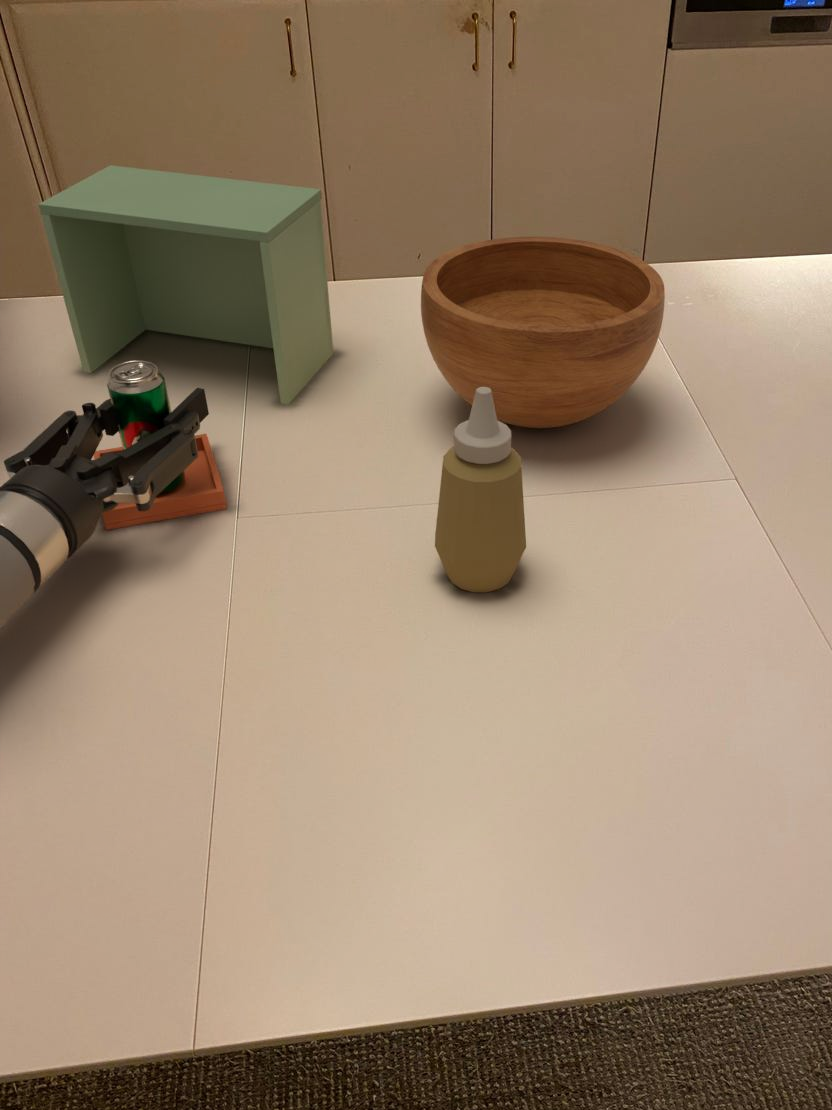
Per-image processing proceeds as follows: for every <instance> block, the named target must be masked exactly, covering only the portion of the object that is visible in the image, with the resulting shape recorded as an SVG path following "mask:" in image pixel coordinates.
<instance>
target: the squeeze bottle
mask: <svg viewBox="0 0 832 1110" xmlns="http://www.w3.org/2000/svg"><path fill="white" fill-rule="evenodd" d="M453 434H454V435H453V446H452V447H450V448H449V449H448V450H447V451H446V452H445V453H444V455H443V456H442V466H441V467H442V468H441V477H440V487H439V495H438V506H437V515H436V525H435V533H434V547H435V550H436V552H437V554H438V557H439V559H440V562H441V564H442V567H443V569H444V571H445V573H446V576H447V577H448V579H449V580H450V583H452V584H453V585H455V586H456V587H458V588H459V589H461V590H464V591H466V592H467V591H468V592H470V593H471V592H472V593H489V592H492V591H493V592H494V591H497V590H500V589H502V588H503V587H505V586H506V585H508V584H509V583H510V581H511V580H512V577H513V575H514V573H515V571H516V569H517V567H518V565H519V563H520V561H521V559H522V557H523V555H524V553H525V551H526V548H527V536H526V535H527V534H526V519H525V503H524V488H523V487H524V485H523V469H522V468H523V467H522V456H521V455H520V454H519V453H518V452H517V450H515V449H514V448H513V447H512V430H511V429H510V428H509V426H508V425H507V423H505V422H502V421H499V420H497V416H496V411H495V406H494V402H493V397H492V392H491V389H490V388H488V387H479V388H477V389H476V393H475V397H474V401H473V405H471V409H470V413H469V416H468V420H467V419H466V420H465V421H463V422H461V423H459V424H458V425H457V426H456V427H455V429H454V431H453Z"/></svg>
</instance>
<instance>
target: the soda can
mask: <svg viewBox="0 0 832 1110" xmlns="http://www.w3.org/2000/svg"><path fill="white" fill-rule="evenodd" d="M106 387H107V391H108V396H109V399H111V403H112V407H113V411H114V415H115V419H116V423H117V427H118V430H119V431H118V434H119V439H120V441H121V445H122V446H121V447H123V450H124V449H126V448H128V447H130V446H131V445H133V444H135V443H137V442H139V441H140V440H142V439H144V438H146V437H148V436H149V435H151V434H153V433H155V432H157V431H158V430H160V429H162V428H164V427H165V425H164V419H165V418H166V417H167V416H168V415H169V414H170V413H171V412H172V408H171V403H170V399H169V394H168V389H167V384H166V380H165V376H164V375H163V374H162V373H161V372H160V371H159V367H158V366H157V365H156V364H155V363H153V362H150V361H148V360H129V361H124V362H121V363H118V364H116V365H114V366H113V367H112V368H110V370H109V371H108V380H107V383H106ZM184 478H185V473H184V471H183V472H182V473H181V474H180V475H178V476H177V477H176V478H175V479H174V480H173V481H172V482H171V483H170V484H169V485H168V486H167V487H166V488H164V489H163V490H162V491H161V492H160V493H159V494H158V495H161V494H166V493H169V492H172V491H174V490H175V489H177V488H178V487H179V486H180V485H181V484H182V482H183V480H184Z"/></svg>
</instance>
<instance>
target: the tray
mask: <svg viewBox="0 0 832 1110" xmlns="http://www.w3.org/2000/svg"><path fill="white" fill-rule="evenodd" d="M194 435H195V440H196V445H197V450H198V455H199V456H198V458H197V459H196V460H195V461H194V462H192V463H191V464H190V465H189V466H188V467H187V468H186V469H185V470H184V473H185V478H184V480H183V482H182V484H181V485H180V486H179V487H178V488H177V489H175V490H174V491H172V492H169V493H166V494H161V495H157V496H156V497H155V499H154V502H153V504H152V507H151V508H150V509H149V510H148V511H143V512H142V511H138V510H137V508H136V504H135V503H119V504H118V505H117V506H116V507H115V508H114V509H112V510H110V511H107V512H106V513H104V514H102V515H101V517H102V519H103V523H104V526H105V530H107V531H109V530H114V529H119V528H125V527H131V526H135V525H141V524H142V525H143V524H148V523H153V522H159V521H165V520H170V519H177V518H182V517H187V516H193V515H198V514H204V513H209V512H215V511H222V510H226V509H228V506H227V501H226V497H225V496H226V495H225V491H224V487H223V484H222V481H221V480H222V479H221V477H220V474H219V469H218V467H217V464H216V461H215V458H214V454H213V451H212V447H211V444H210V440H209V437H208V434H207V433H201V434H194ZM122 450H123V446H119V447H113V448H107V449H99V450H96V451H95V453H94V455H93V460H96V459H98V458H99V457H101V456H103V455H105V454H107V453H108V452H114V453H119V452H121V451H122Z"/></svg>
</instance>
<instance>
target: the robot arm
mask: <svg viewBox="0 0 832 1110" xmlns="http://www.w3.org/2000/svg"><path fill="white" fill-rule="evenodd" d="M81 408H82V412H83V413H82V414H78V415H77V412H76V411H75V410H66V411H64V412H63V413H62V414H61V415H60V416H58V417H57V418H56V419H55V420H53V422H52V423H50V424H49V425H48V427H46V428H45V429H44V430H43V431H42V432H41V433H40V434H39V435H38V436H37V437H35V439H33V440H32V441H31V442H30V443H29V444H28V445H27V446H26V447H24V449H22V450H21V451H19V452H17V453H15V454H13V455H11V456H10V457H8V458H6V459H4V460H3V464H4V467H5V471H6V473H7V476H8V480H7V481H6V482H4V483H3V484H2V485H1V486H0V629H1V628H2V627H3V626H4V625H5V624H6V623H7V622H8V621H9V620H10V618H11V617H12V616H13V615H15V613H16V612H18V611H19V609H20V608H21V607H22V606H24V604H25V603H26V602H27V601H28V600H29V599H30V598H31V597H32V596H33V595H34V594H35V593H36V592H37V591H38V590H39V589H40V588H41V587H42V586H43V585H44V584H45V583H46V582H47V581H48V580H49V579H50V578H51V577H52V576H53V575H54V574H55V573H56V572H57V571H58V570H59V569H60V568H61V566H63V565H64V564H65V562H66V561H67V560H68V559H69V558H71V557H72V556H73V555H74V554H75V553H76V552H77V551H78V550H79V549H80V548H81V547H82V546H83V545H84V544H85V543H86V542H87V541H88V540H89V539H90V538H91V537H92V536H93V534H95V531H96V529H97V526H98V524H99V521H100V519H101V517H102V514H104V513H106V512H107V511H110V510H112V509H114V508H115V507H116V506H117V505H118V504H119V503H135V504H136V508H137V510H138V511H142V512H143V511H148V510H149V509H150V508H151V507H152V504H153V502H154V499H155V497H156V496H157V495H158V494H159V493H160V492H161V491H162V490H163V489H164V488H166V487H167V486H168V485H169V484H170V483H171V482H172V481H173V480H174V479H175V478H176V477H177V476H178V475H180V474H181V473H182V472H183V471H184V470H185V469H186V468H187V467H188V466H189V465H190V464H191V463H192V462H194V461H195V460H196V459H197V458H198V456H199V455H198V450H197V445H196V440H195V435H196V433H197V432H198V431H199V430H200V429H201V422H203V420H205V419H206V417H208V415H209V414H210V411H209V407H208V401H207V395H206V389H205V388H202V387H197V388H195V389H194V390H193V391H192V392H191V393H190V394H189V395H187V396H186V398H185V399H184V400H183V401H181V402H180V403H179V404H178V405H177V406H176V407H175V408H174V409H173V410H171V413H170V414H169V415H168V416H167V417H166V418H165V419H164V425H165V427H164V428H162V429H160V430H158V431H157V432H155V433H153V434H151V435H149V436H148V437H146V438H144V439H142V440H140V441H139V442H137V443H135V444H133V445H131V446H130V447H128V448H126V449H124V450H122V451H121V452H119V453H114V452H108V453H107V454H105V455H103V456H101V457H99V458H98V459H96V460H94V459H93V458H94V453H95V451H97V449H98V447H99V445H100V443H101V441H102V439H103V437H104V432H105V435H106V436H110V437H114V436H115V435H116V434H117V433H119V430H118V427H117V423H116V419H115V415H114V411H113V407H112V403H111V399H110V398H108V399H106V400H104V401H103V402H102V403H101V404H100V405H99V406H96V404H95V402H86V403H82V405H81Z"/></svg>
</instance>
